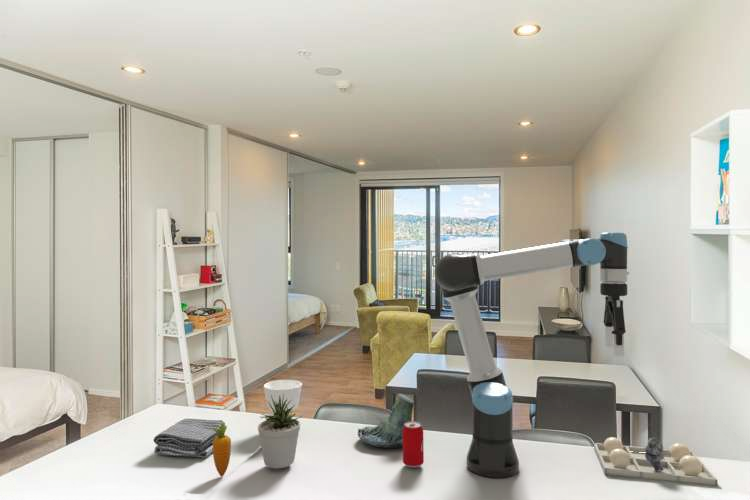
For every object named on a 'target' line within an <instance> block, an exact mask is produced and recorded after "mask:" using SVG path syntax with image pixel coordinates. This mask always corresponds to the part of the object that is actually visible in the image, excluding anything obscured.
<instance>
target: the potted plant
mask: <svg viewBox="0 0 750 500" xmlns="http://www.w3.org/2000/svg"><path fill="white" fill-rule="evenodd" d="M271 397H272V395H271ZM283 400H284V393H283ZM283 400H282V407H281V397H280V396H279V403H277V402H276V400H275V402H276V404H275V402H274V400H273V398H272V401H273V404H274V407H275V411H276V412H275V411H274V409H273V408H272V406H271V405H270V403H269V401H268V403H269V405H270V407H271V408H272V410H273V412H272V413H273V415H271V414H270V415H268V414H264V413H261V415H262V416H261V417H260V420H261V419H263V418H264V419H265V420H263V421H261V422H259V424H258V425H257V431H258V434H259V439H260V441H259V442H260V445H261V446H260V447H261V452H262V459H263V463H264V465H265V467H268V468H270V469H283V468H287V467H290V466H291V465H292V464H294V462H295V458H296V453H297V452H296V451H297V445H298V439H299V431H300V428H301V422H300V421H299V420H298V419H301V418H302V417H303V415H304V414H302V415H300V416H298V417H296V418H293V417H294V416H296V414H297V413H294V411H292V412H290V411H291V410H292V408H293V407H294V406H293V407H292V408H290V409H288V407H287V405H288V404H289V403H290V401H289V402H288V404H287V405H286V404H285V403H286V401H287V400H288V399H287V400H286V401H285V402H284V403H283ZM285 405H286V406H285ZM284 406H285V408H284ZM286 407H287V410H286ZM285 410H286V411H285ZM288 415H289V416H288ZM287 416H288V417H287Z"/></svg>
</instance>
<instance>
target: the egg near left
mask: <svg viewBox="0 0 750 500" xmlns="http://www.w3.org/2000/svg"><path fill="white" fill-rule="evenodd" d="M610 461H611V463H612V464H613V465H614V466H615V467H617V468H620V469H624V468H626V467H628V466H629V464H630V457H629V455H628V453H627V452H626V451H624V450H622V449H614V450H612V451H611V453H610Z"/></svg>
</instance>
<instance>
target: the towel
mask: <svg viewBox="0 0 750 500" xmlns="http://www.w3.org/2000/svg"><path fill="white" fill-rule="evenodd" d="M222 422H224V421H223V420H222V419H201V418H200V419H199V418H184V419H182V420H180V421H178V422H176V423H175V424H173V425H171V426H169V427H168V428H167V429H164V430H163V431H161V432H160V433H158V434H157V435H156V436H155V437H154V438H153V442H154V444H155V445H156V446H155V447H154V451H153V452H154V454H158V455H160V456H168V457H170V456H171V457H189V458H191V457H192V458H202V459H206V458H208V457H209V456H210V455H211V454H213V440H214V438H216V437H217V436H218V434H217V432H216V431H214V430H213V428H216V429H217V430H218V428H220V430H221V429H222Z"/></svg>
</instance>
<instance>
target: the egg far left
mask: <svg viewBox="0 0 750 500" xmlns="http://www.w3.org/2000/svg"><path fill="white" fill-rule="evenodd" d="M603 444H604V448H605V450H606V452H607V453H608V454H610V453H611V451H612V450H614V449H622V450H623V446H624V445H623V442H622V441H621V439H619V438H617V437H614V436H610V437H606V439H605V440H604V442H603Z"/></svg>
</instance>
